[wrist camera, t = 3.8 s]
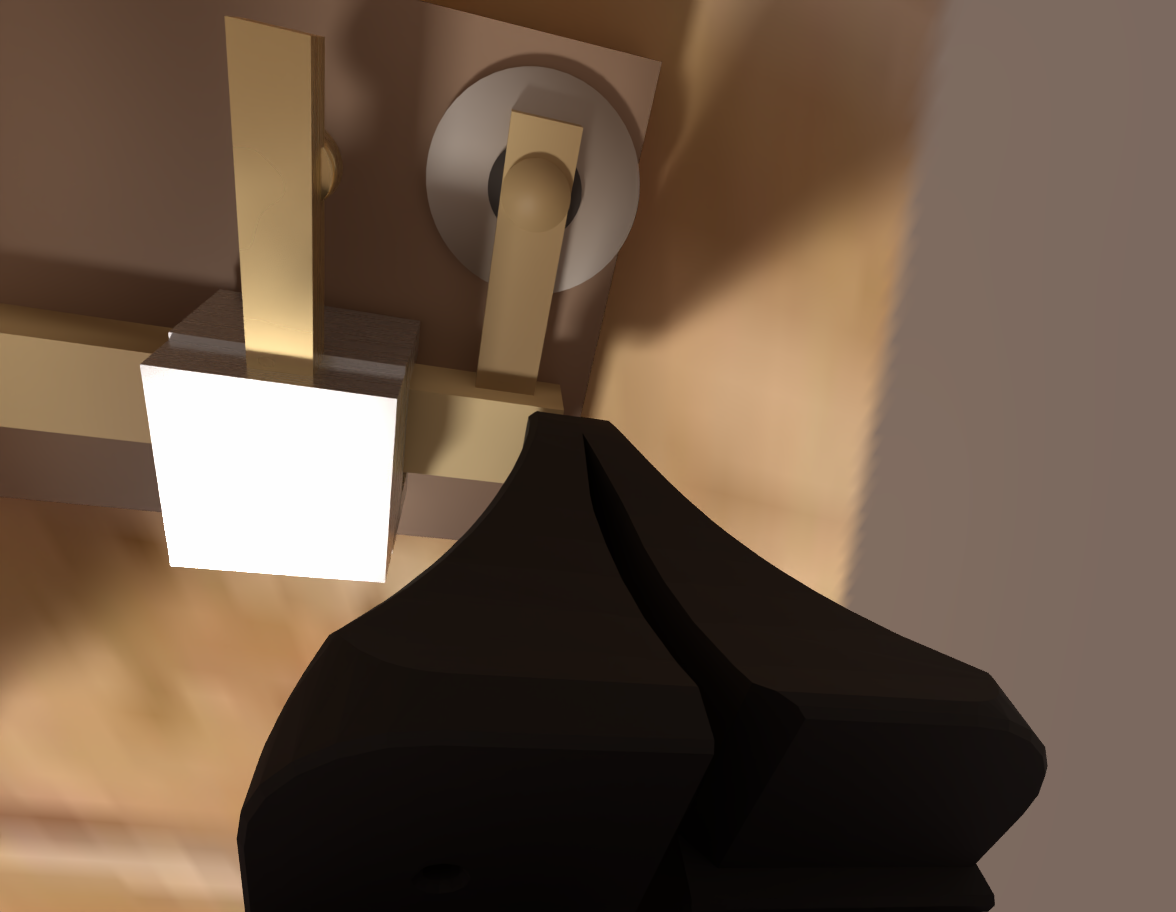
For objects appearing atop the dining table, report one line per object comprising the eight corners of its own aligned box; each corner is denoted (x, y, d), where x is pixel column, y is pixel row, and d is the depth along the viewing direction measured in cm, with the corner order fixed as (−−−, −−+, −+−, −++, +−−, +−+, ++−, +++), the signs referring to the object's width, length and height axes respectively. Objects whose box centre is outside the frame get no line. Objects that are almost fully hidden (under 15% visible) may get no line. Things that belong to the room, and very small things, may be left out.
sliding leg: (234, 472, 12) (171, 571, 9) (196, 1, 8) (80, -17, 6) (406, 490, 12) (384, 587, 10) (441, 60, 9) (419, 63, 6)
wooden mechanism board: (-200, 435, 12) (-329, 507, 10) (-514, -233, 7) (-854, -327, 6) (551, 514, 15) (557, 582, 13) (652, 62, 10) (685, 64, 8)
